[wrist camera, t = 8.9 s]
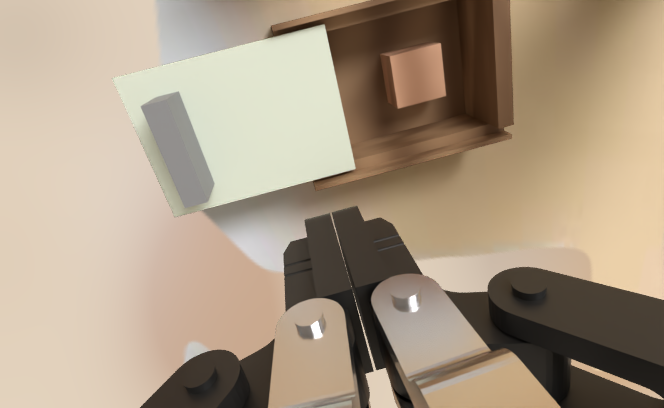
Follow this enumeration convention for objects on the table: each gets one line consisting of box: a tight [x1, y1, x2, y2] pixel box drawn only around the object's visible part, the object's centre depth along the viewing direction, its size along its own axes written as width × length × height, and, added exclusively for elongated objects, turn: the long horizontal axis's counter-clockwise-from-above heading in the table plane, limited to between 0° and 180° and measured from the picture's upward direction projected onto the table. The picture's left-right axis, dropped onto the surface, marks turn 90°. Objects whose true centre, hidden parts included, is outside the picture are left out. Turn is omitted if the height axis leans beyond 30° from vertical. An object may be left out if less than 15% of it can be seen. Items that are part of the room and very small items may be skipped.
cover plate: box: [112, 24, 356, 217], centre depth 27 cm, size 14×11×4 cm
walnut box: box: [271, 0, 514, 191], centre depth 31 cm, size 16×12×6 cm
